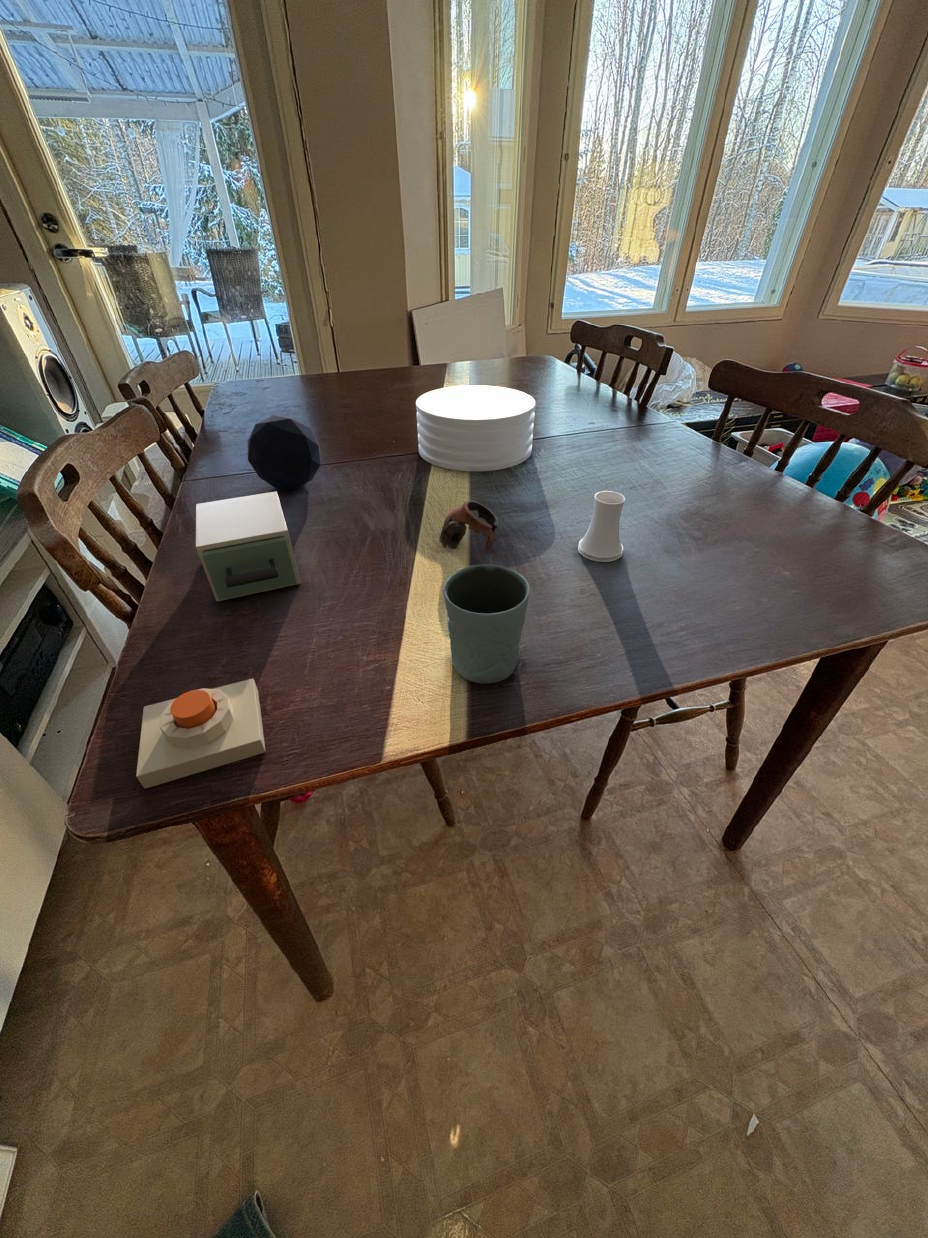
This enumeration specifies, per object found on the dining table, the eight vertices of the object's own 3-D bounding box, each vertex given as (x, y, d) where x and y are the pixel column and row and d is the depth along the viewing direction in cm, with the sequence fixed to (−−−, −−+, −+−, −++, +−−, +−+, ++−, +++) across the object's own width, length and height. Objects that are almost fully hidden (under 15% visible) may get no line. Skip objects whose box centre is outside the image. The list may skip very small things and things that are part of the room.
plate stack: (434, 427, 140) (432, 382, 133) (536, 433, 135) (540, 387, 128) (404, 466, 118) (400, 415, 111) (525, 475, 114) (529, 423, 107)
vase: (607, 536, 93) (617, 484, 86) (630, 557, 87) (643, 503, 81) (570, 543, 91) (577, 491, 84) (591, 565, 85) (601, 510, 79)
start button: (175, 733, 54) (169, 722, 52) (176, 706, 56) (170, 695, 55) (216, 722, 55) (211, 711, 54) (215, 696, 58) (210, 685, 56)
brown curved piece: (450, 527, 97) (473, 492, 92) (487, 559, 95) (512, 526, 91) (416, 540, 87) (440, 501, 82) (457, 576, 85) (483, 539, 81)
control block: (144, 789, 52) (128, 765, 50) (151, 719, 60) (137, 695, 57) (265, 752, 56) (256, 728, 53) (258, 690, 63) (249, 667, 61)
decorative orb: (239, 452, 111) (232, 405, 98) (306, 439, 117) (308, 394, 104) (261, 508, 109) (257, 469, 96) (329, 492, 115) (334, 453, 102)
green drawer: (300, 598, 77) (289, 554, 72) (220, 616, 73) (202, 571, 68) (286, 543, 90) (275, 502, 85) (216, 556, 86) (201, 514, 81)
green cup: (514, 634, 71) (520, 561, 64) (530, 686, 64) (539, 610, 56) (442, 640, 70) (439, 566, 63) (449, 693, 63) (447, 617, 55)
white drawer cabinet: (300, 583, 81) (287, 530, 75) (216, 601, 78) (195, 546, 72) (289, 540, 92) (276, 490, 86) (214, 555, 88) (195, 503, 82)
